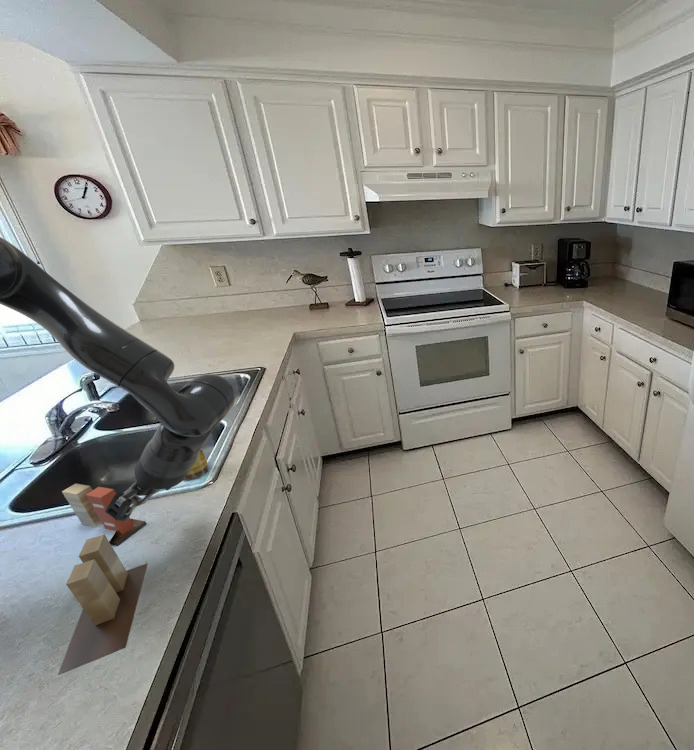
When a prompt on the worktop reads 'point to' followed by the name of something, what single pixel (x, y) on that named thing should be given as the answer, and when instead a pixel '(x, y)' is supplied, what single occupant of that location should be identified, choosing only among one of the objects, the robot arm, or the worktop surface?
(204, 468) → the sauce bottle
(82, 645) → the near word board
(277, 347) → the worktop surface
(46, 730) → the worktop surface
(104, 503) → the orange brick
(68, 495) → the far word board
